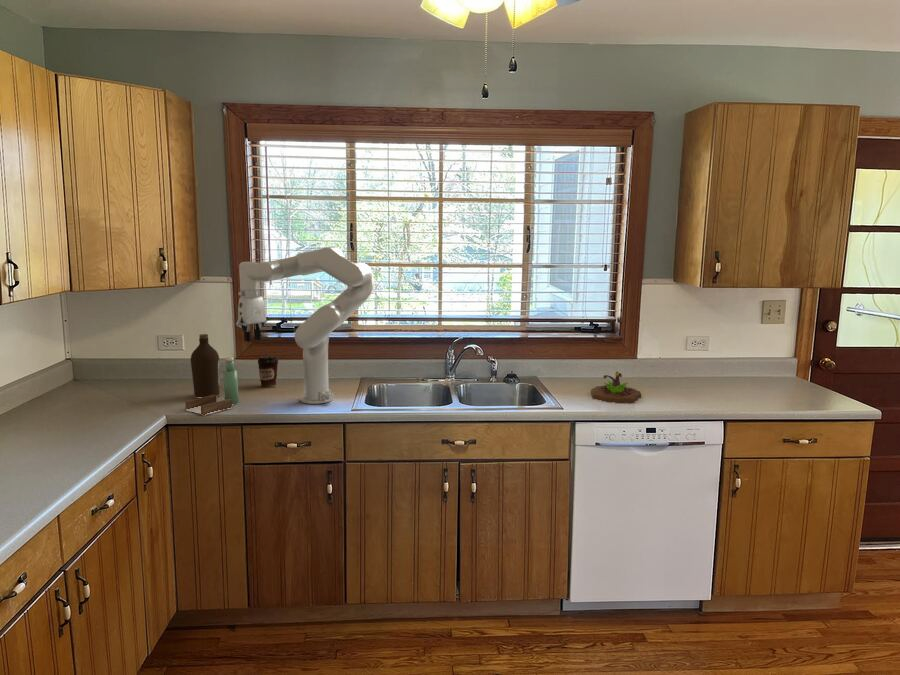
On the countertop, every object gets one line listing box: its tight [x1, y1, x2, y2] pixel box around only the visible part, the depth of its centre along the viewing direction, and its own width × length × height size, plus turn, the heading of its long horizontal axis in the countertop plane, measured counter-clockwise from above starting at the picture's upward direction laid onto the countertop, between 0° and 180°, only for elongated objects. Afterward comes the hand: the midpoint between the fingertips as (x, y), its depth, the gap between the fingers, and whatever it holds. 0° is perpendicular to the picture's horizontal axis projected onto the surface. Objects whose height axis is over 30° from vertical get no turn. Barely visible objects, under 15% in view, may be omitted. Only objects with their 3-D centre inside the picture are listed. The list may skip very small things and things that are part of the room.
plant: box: [590, 371, 642, 404], centre depth 260 cm, size 20×20×11 cm
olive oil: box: [190, 333, 221, 397], centre depth 254 cm, size 11×11×25 cm
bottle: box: [222, 356, 240, 405], centre depth 245 cm, size 5×5×18 cm
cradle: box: [184, 395, 233, 415], centre depth 238 cm, size 11×12×4 cm
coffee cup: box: [257, 354, 279, 388], centre depth 272 cm, size 9×8×13 cm
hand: (252, 340), depth 251 cm, fingers open, 4 cm apart
